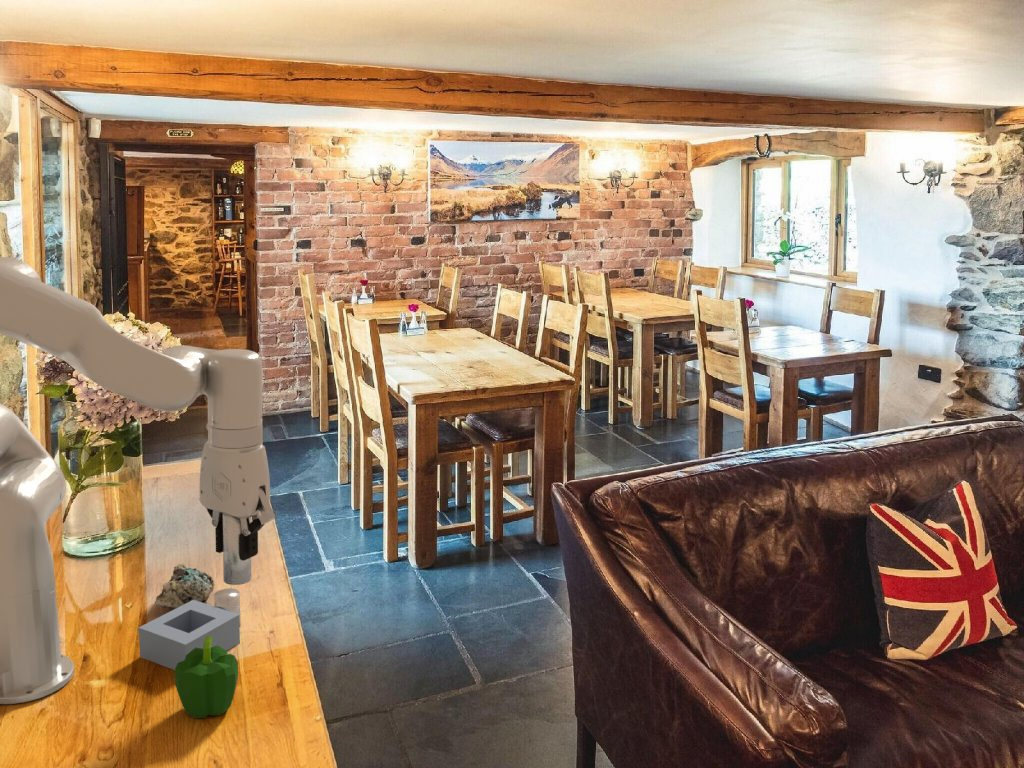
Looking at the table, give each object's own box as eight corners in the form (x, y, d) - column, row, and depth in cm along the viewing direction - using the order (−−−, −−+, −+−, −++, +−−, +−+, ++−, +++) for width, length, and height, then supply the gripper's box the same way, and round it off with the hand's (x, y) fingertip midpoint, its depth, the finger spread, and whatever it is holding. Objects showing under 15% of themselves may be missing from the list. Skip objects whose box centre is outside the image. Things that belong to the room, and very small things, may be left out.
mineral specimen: (207, 616, 148) (212, 568, 150) (150, 614, 147) (155, 565, 148) (215, 607, 160) (220, 563, 161) (162, 606, 158) (167, 561, 160)
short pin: (228, 635, 144) (227, 601, 143) (210, 628, 146) (208, 595, 145) (245, 624, 148) (244, 592, 146) (227, 619, 149) (226, 586, 148)
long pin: (237, 587, 129) (236, 510, 126) (217, 580, 131) (216, 504, 128) (257, 577, 133) (256, 502, 130) (237, 571, 134) (236, 496, 132)
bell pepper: (222, 730, 119) (219, 663, 117) (166, 721, 121) (162, 655, 118) (250, 696, 127) (248, 633, 125) (197, 688, 129) (194, 626, 127)
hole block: (186, 674, 132) (185, 644, 131) (140, 657, 137) (138, 627, 135) (239, 643, 142) (239, 614, 141) (194, 627, 146) (193, 599, 145)
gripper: (173, 430, 127) (176, 548, 131) (260, 451, 120) (261, 576, 124) (213, 420, 134) (215, 533, 138) (297, 439, 126) (297, 558, 130)
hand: (236, 552), depth 131 cm, fingers closed on long pin, 4 cm apart
